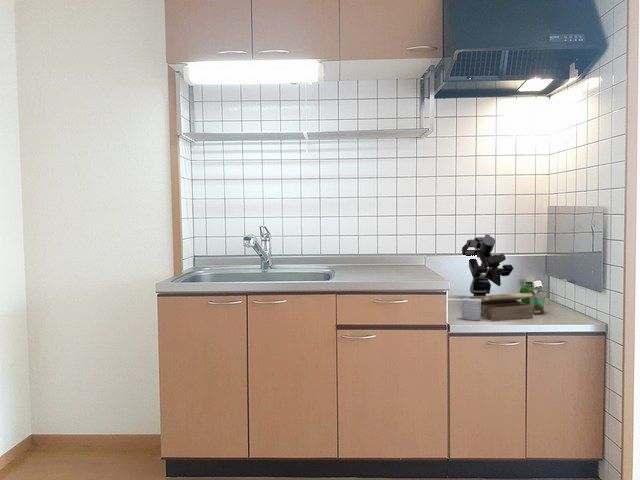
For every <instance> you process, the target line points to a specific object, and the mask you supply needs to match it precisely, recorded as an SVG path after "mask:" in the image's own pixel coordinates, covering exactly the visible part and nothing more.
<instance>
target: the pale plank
mask: <svg viewBox="0 0 640 480" xmlns="http://www.w3.org/2000/svg"><path fill="white" fill-rule="evenodd" d="M489 295H490V296H488V295H486V296H487V297H484V298H480V300H481V303H483V302H500V301H521V299H524V298H527V297H531V296H532V293H520V292H519V293H505V294H504V293H502V294H501V293H499V294H489Z"/></svg>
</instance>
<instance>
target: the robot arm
mask: <svg viewBox="0 0 640 480" xmlns="http://www.w3.org/2000/svg"><path fill="white" fill-rule="evenodd" d="M495 244H496V239H495V238H494V237H492V236H491V235H490V234H485V235H484V237H480V236H478V237H474V238H473V239H467V240H466V243H465V244H464V245H463V246H462V247H461V251H462V254H463V255H466V256H471V255H472V256H473V255H474V256H475V255H477V257H478V258H477V260H476V259H470V260H469V266H468V268H469V271H470V273H471V276H472V281H471V284H470V287H469V292H470V293H471V294H472V296H487V294H488V295H491V294H490V293H491V289H492V284H491V282H492V283H493V284H495V285H496V286H497V287H500V286H501V285H502V282H501V276H502V277H508V276H510V275H511V273H512V272H513V270H514V267H513V265H512V264H503V265H502V266H501V267H500V265H501V264H500V263H503V262H504V261H506V260H507V259H506V255H505V253H500V254H493V255H492V252H493V250H494V247H495ZM469 248H474V249H476V250H467V249H469ZM478 259H479V260H480V262H481V263H480V265H479V262H478ZM490 281H491V282H490Z"/></svg>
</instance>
